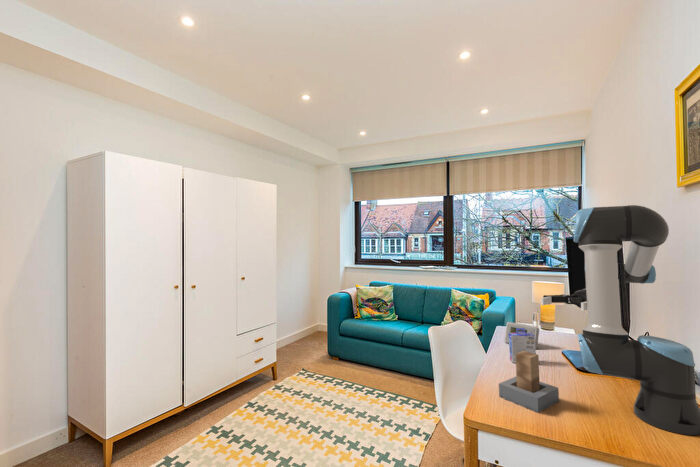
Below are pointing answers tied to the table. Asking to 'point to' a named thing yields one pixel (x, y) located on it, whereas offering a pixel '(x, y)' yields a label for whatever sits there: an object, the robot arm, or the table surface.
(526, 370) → the walnut block
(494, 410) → the table surface
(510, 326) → the digital clock
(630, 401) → the table surface
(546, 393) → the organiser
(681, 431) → the robot arm
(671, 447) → the table surface
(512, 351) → the ink cartridge box
